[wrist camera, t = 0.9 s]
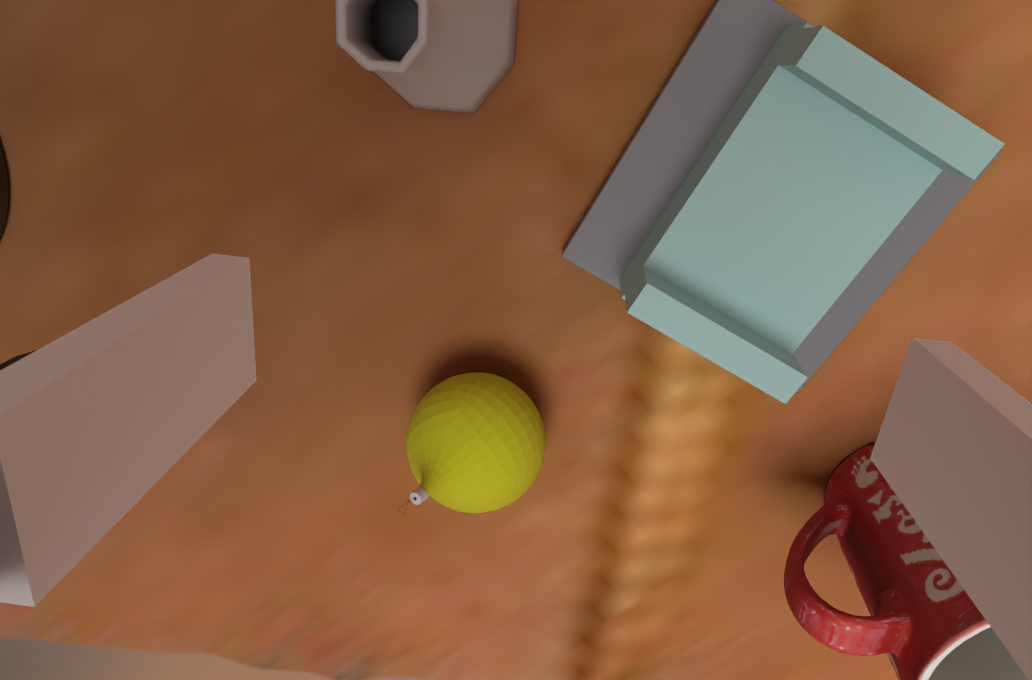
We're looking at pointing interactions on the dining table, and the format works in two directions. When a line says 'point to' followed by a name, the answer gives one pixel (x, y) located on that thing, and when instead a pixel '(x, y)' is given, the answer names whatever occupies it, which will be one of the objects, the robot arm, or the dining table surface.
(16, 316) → the dining table surface
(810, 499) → the dining table surface
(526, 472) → the ornament
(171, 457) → the robot arm
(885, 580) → the mug
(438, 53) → the flask
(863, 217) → the display stand
